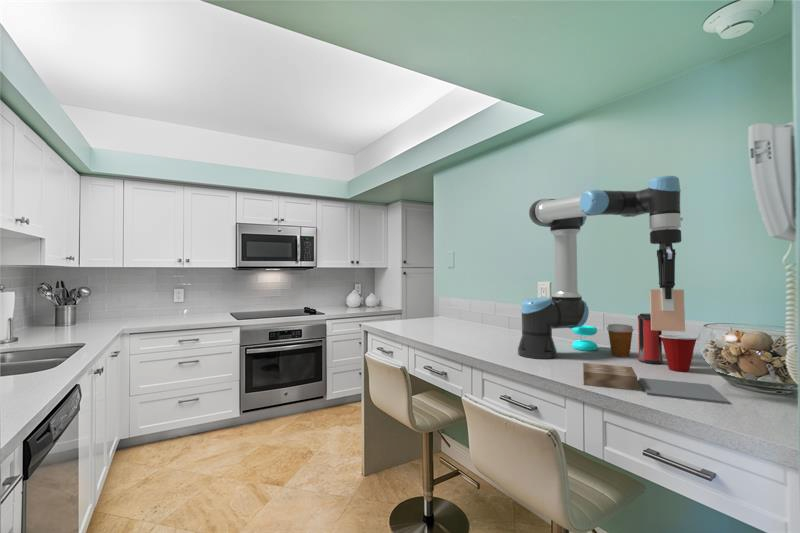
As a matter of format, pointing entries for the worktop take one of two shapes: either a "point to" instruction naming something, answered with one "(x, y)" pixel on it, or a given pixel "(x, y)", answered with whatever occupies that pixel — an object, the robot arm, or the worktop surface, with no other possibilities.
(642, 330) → the speaker
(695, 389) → the mat
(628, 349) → the disposable coffee cup
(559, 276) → the robot arm
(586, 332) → the turquoise double disc piece
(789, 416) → the worktop surface
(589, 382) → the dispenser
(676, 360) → the plastic cup
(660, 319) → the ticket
